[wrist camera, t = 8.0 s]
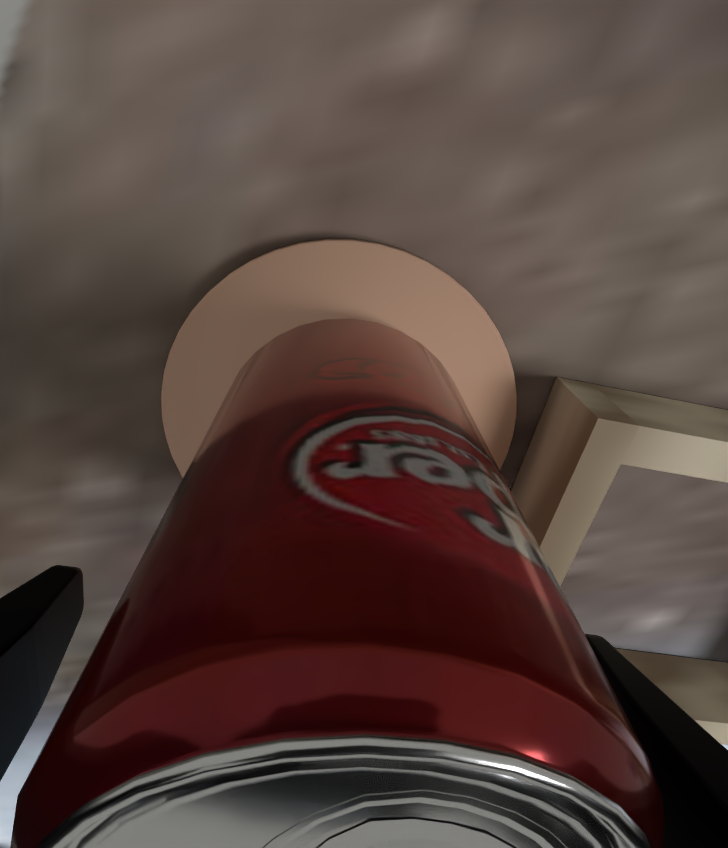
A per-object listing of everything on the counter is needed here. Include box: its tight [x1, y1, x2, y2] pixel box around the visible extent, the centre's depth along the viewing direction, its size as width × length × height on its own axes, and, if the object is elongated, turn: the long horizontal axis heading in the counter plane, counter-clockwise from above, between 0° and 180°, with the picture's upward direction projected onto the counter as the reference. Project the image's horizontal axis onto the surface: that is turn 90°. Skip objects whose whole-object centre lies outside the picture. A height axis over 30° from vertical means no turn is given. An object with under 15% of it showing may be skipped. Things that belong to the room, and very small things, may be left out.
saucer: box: [161, 239, 517, 477], centre depth 16 cm, size 11×11×1 cm
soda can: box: [10, 318, 665, 848], centre depth 11 cm, size 7×7×12 cm
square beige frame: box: [511, 377, 728, 745], centre depth 18 cm, size 14×12×3 cm
